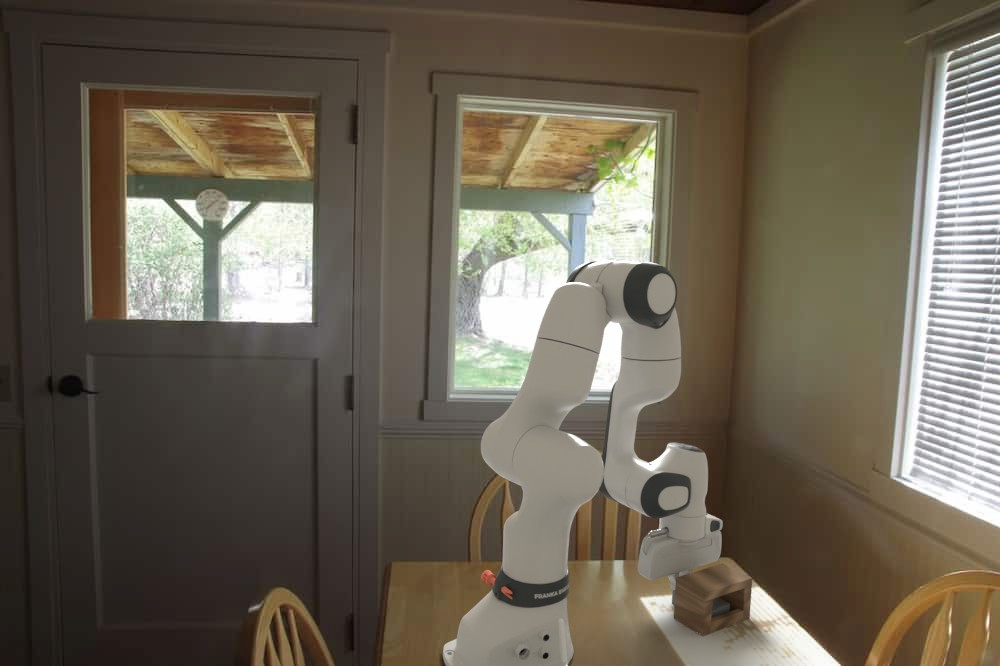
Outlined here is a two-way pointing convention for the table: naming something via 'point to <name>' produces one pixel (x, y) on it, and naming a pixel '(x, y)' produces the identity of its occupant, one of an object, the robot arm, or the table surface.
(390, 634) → the table surface
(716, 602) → the grey rectangular block
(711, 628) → the shelf
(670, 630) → the table surface
